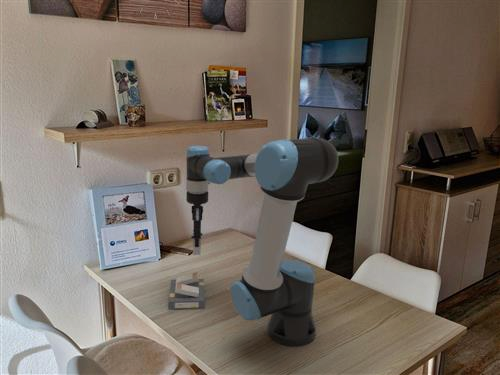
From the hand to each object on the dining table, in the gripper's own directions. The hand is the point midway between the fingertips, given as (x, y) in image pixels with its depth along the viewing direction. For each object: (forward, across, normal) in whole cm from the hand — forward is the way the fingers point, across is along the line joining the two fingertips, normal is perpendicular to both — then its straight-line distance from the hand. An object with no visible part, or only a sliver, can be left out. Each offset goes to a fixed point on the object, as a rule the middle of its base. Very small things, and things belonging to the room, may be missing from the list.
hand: (196, 253), depth 159 cm
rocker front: (+10, -8, +3) cm, 13 cm away
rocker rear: (+10, 0, +3) cm, 10 cm away
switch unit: (+15, -4, +3) cm, 16 cm away
